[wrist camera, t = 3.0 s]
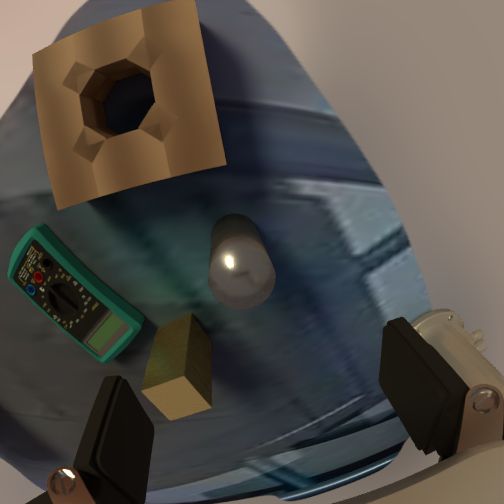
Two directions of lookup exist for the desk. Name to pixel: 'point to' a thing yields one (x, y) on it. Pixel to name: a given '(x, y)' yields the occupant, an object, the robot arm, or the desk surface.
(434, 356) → the robot arm
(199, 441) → the desk surface
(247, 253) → the cylinder
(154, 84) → the bore block
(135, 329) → the digital multimeter
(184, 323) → the square bit
